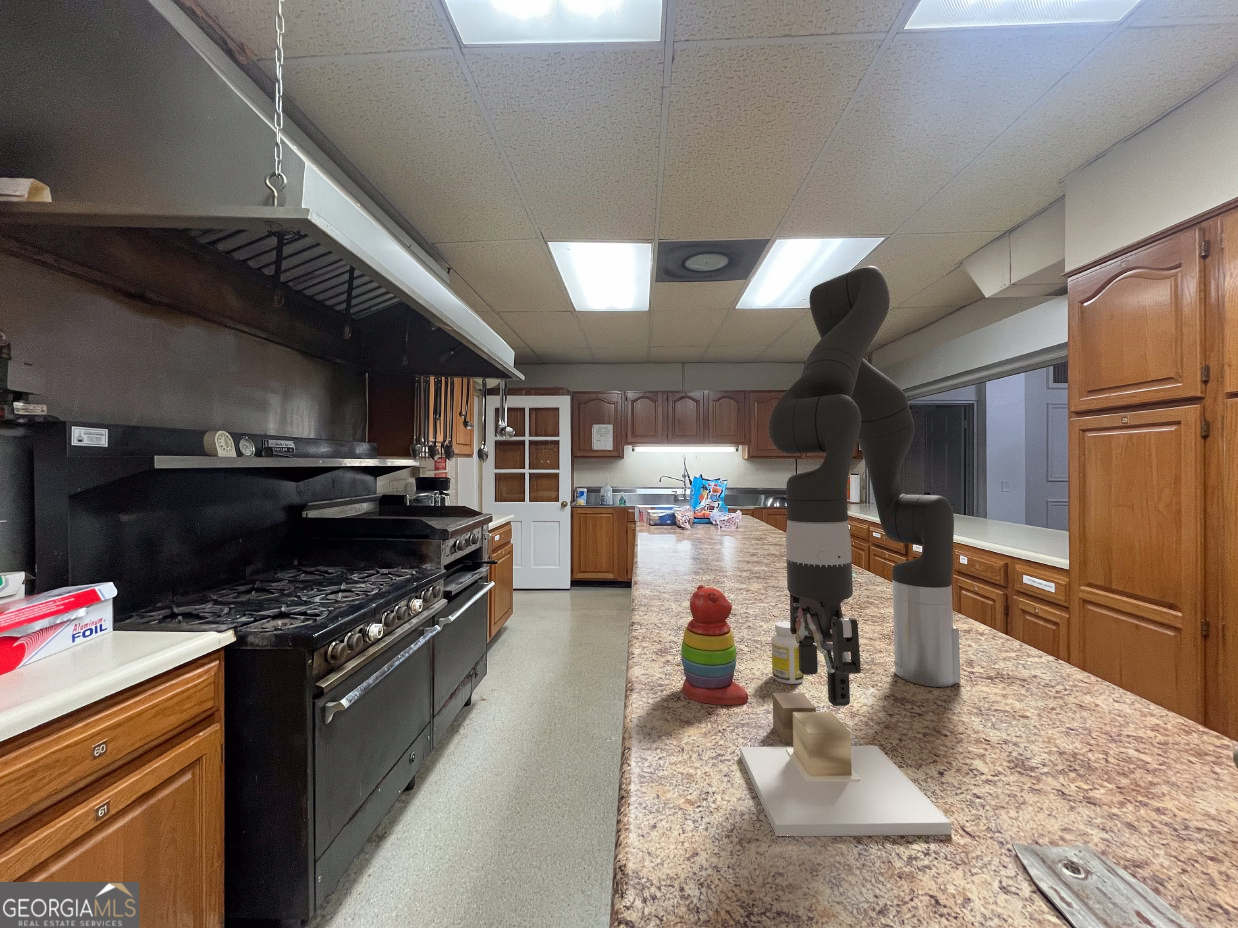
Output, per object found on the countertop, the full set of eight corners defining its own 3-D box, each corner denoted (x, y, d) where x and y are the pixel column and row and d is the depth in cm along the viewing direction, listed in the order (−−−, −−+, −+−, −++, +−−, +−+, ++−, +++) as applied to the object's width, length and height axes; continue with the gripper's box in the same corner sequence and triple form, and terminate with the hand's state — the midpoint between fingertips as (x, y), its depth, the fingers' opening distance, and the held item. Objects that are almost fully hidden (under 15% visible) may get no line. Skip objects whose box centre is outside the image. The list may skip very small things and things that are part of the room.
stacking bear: (752, 704, 77) (750, 593, 77) (692, 709, 75) (691, 596, 76) (727, 676, 87) (725, 579, 88) (674, 680, 86) (673, 582, 86)
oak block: (832, 751, 61) (831, 711, 61) (851, 775, 56) (850, 732, 56) (793, 751, 61) (792, 712, 61) (809, 776, 56) (808, 732, 56)
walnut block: (803, 727, 69) (802, 692, 70) (816, 744, 65) (815, 707, 65) (773, 727, 69) (772, 693, 70) (784, 744, 65) (783, 707, 65)
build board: (876, 754, 62) (876, 743, 62) (951, 834, 48) (951, 820, 48) (740, 756, 62) (740, 745, 62) (776, 836, 48) (775, 822, 48)
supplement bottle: (798, 672, 89) (797, 620, 89) (807, 685, 83) (806, 629, 84) (769, 672, 89) (768, 619, 90) (776, 684, 84) (774, 628, 84)
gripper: (880, 566, 52) (885, 716, 51) (822, 547, 66) (826, 663, 66) (812, 568, 52) (817, 718, 51) (769, 548, 66) (773, 665, 66)
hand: (822, 687), depth 59 cm, fingers open, 8 cm apart
